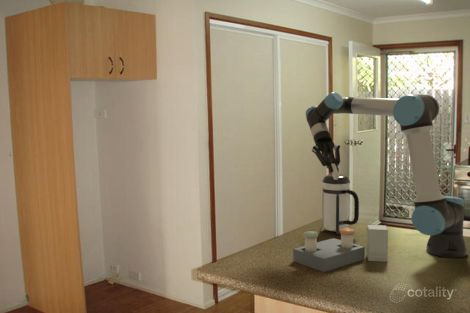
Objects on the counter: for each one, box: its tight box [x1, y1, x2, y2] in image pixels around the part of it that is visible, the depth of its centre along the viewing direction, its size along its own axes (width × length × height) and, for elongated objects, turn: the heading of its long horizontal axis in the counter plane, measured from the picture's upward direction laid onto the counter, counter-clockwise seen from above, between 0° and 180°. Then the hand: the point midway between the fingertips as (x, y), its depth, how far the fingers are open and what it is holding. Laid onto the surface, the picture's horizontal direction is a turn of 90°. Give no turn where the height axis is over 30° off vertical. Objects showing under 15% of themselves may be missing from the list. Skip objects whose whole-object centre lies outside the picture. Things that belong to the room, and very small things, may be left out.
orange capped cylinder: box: [339, 227, 355, 249], centre depth 187 cm, size 6×6×10 cm
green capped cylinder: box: [302, 230, 319, 253], centre depth 183 cm, size 6×6×10 cm
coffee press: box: [319, 170, 360, 236], centre depth 225 cm, size 17×16×30 cm
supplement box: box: [366, 224, 389, 263], centre depth 186 cm, size 7×7×13 cm
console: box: [292, 237, 366, 273], centre depth 186 cm, size 16×23×5 cm
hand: (336, 177), depth 198 cm, fingers closed
